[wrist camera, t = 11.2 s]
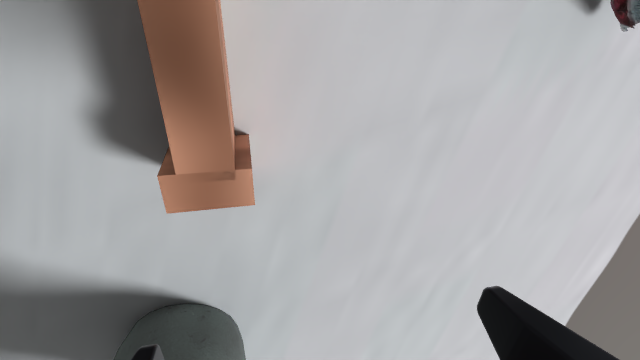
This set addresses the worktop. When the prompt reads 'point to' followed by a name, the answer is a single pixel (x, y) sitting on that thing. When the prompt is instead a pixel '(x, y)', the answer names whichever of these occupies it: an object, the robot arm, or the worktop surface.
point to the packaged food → (626, 12)
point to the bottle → (186, 334)
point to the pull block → (196, 107)
